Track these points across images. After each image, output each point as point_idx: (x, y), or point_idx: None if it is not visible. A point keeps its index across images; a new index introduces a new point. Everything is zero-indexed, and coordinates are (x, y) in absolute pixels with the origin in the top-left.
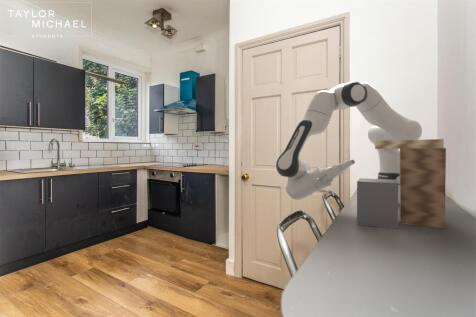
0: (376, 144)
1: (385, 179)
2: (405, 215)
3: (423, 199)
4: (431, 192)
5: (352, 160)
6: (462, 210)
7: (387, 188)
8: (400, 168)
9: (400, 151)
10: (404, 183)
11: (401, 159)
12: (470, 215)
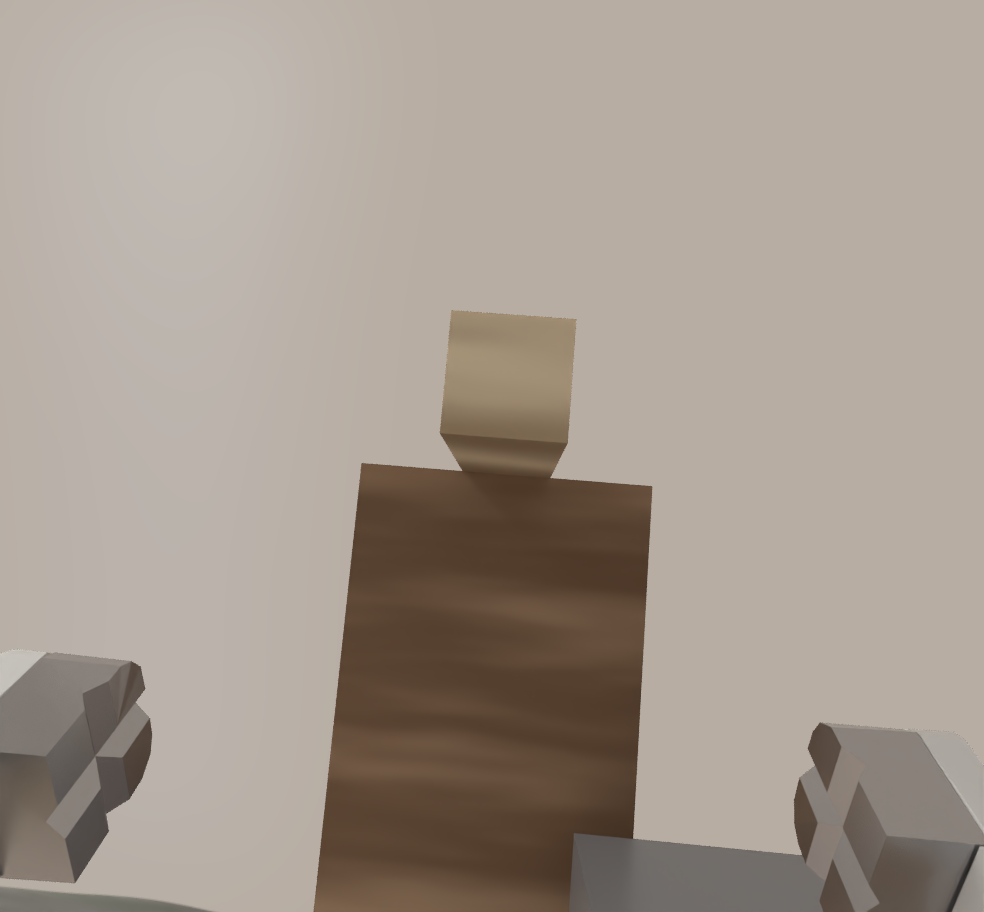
0: (571, 377)
1: (616, 888)
2: None
3: None
4: None
5: (124, 690)
6: (37, 896)
7: None
8: (522, 691)
9: (511, 504)
10: None
11: (645, 596)
12: (175, 905)
